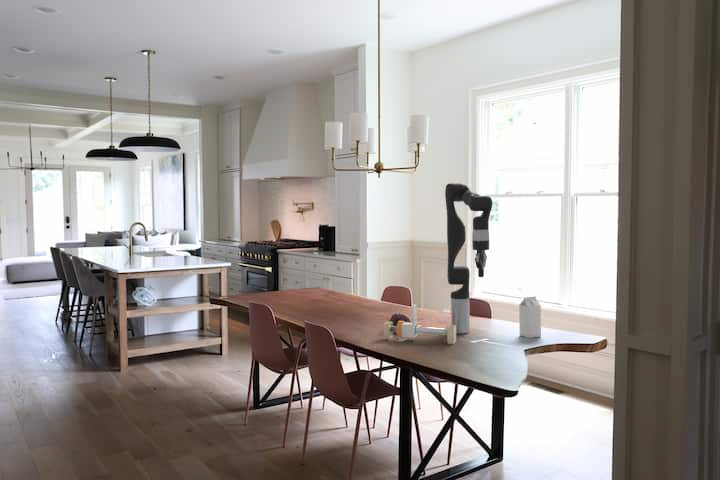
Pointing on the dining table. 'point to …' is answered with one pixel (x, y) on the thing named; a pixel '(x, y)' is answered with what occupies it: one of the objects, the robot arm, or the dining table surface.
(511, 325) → the dining table surface
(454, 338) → the pipe rail
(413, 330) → the sleeve
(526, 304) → the milk carton
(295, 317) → the dining table surface
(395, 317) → the pine cone
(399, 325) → the ring
